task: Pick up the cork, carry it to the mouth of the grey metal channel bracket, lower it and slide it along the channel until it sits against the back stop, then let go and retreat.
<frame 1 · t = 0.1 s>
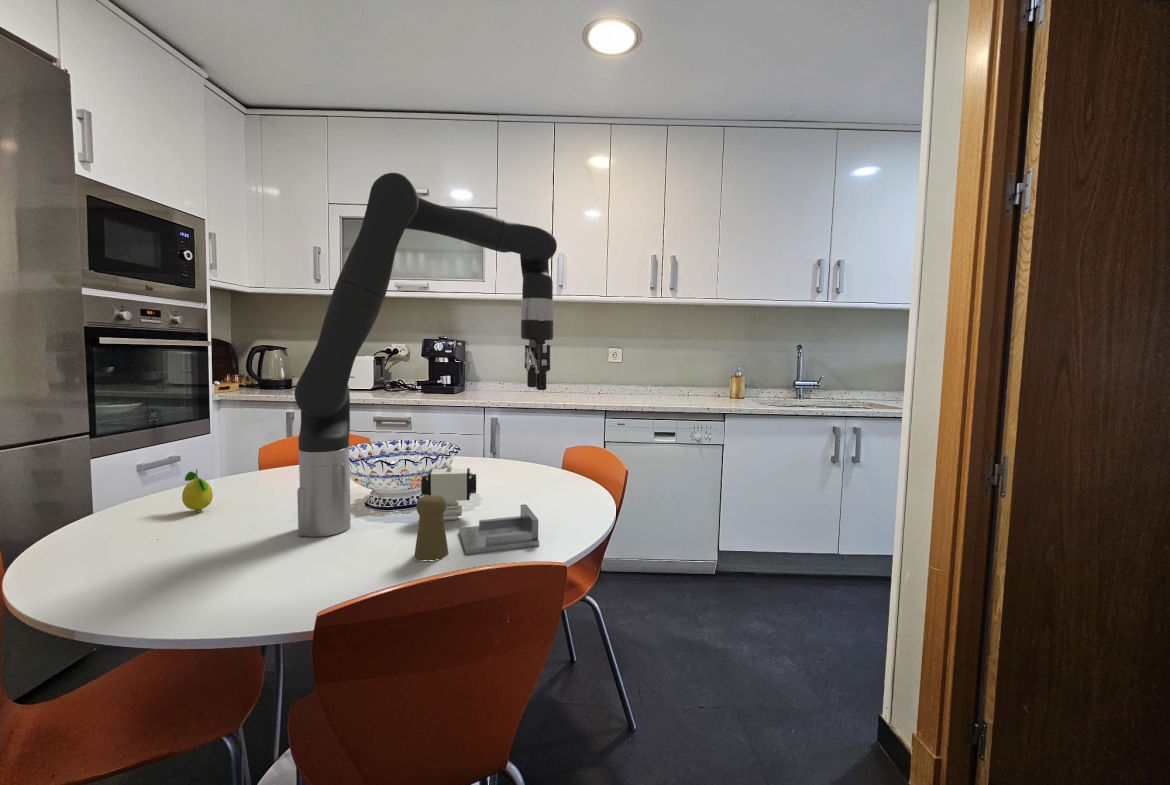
hand: (536, 388, 117), 29 cm above the table, tool pointing down, fingers open, 8 cm apart
pneumatic valve: (449, 518, 112), on the table
bracket: (497, 539, 100), on the table
lemon: (197, 512, 113), on the table
cork: (431, 555, 92), on the table
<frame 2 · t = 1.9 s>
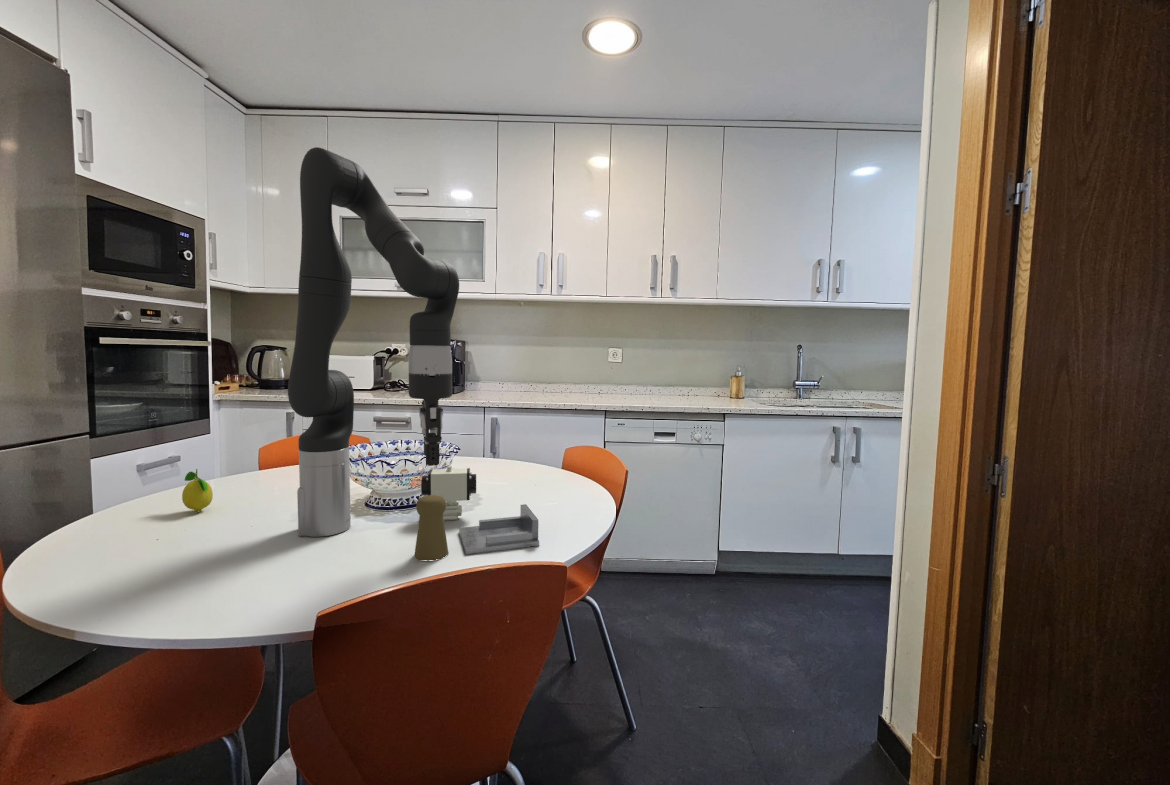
hand: (431, 460, 90), 18 cm above the table, tool pointing down, fingers open, 8 cm apart
nothing on the table moved.
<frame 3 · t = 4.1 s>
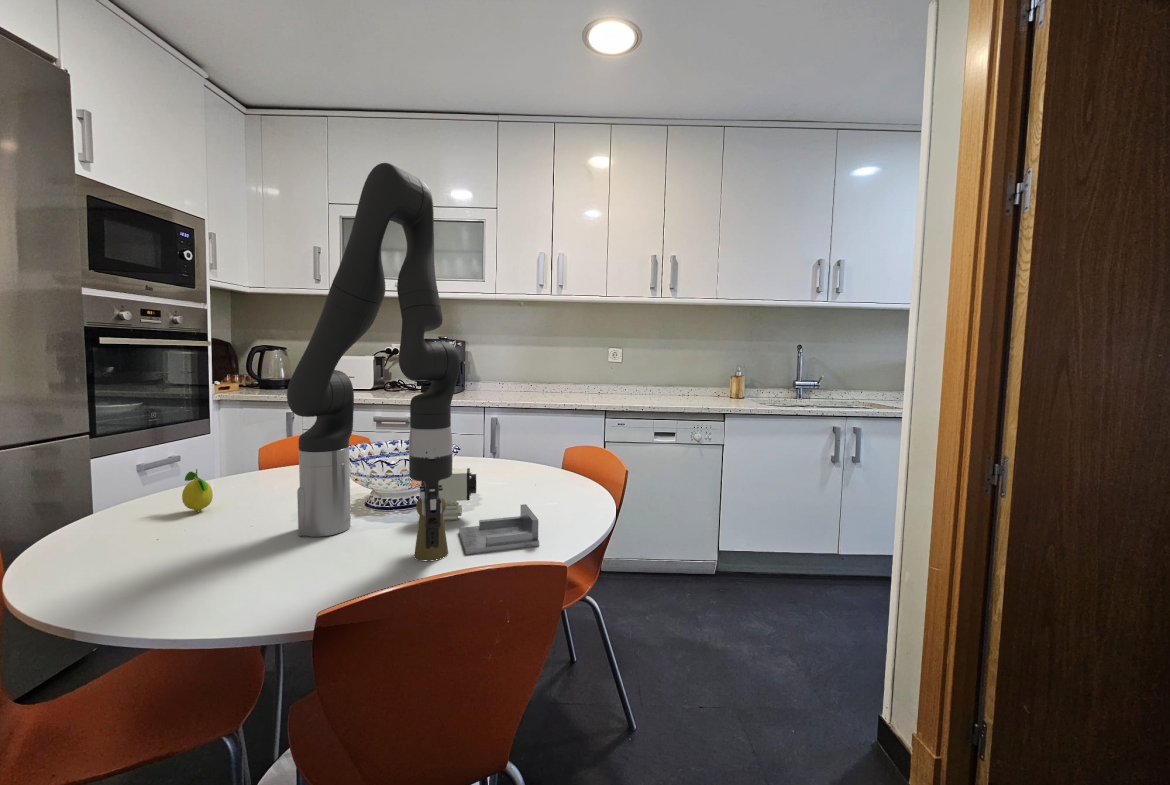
hand: (431, 542, 91), 2 cm above the table, tool pointing down, fingers closed on cork, 4 cm apart
cork: (431, 555, 92), on the table, touching gripper
everything else where it was.
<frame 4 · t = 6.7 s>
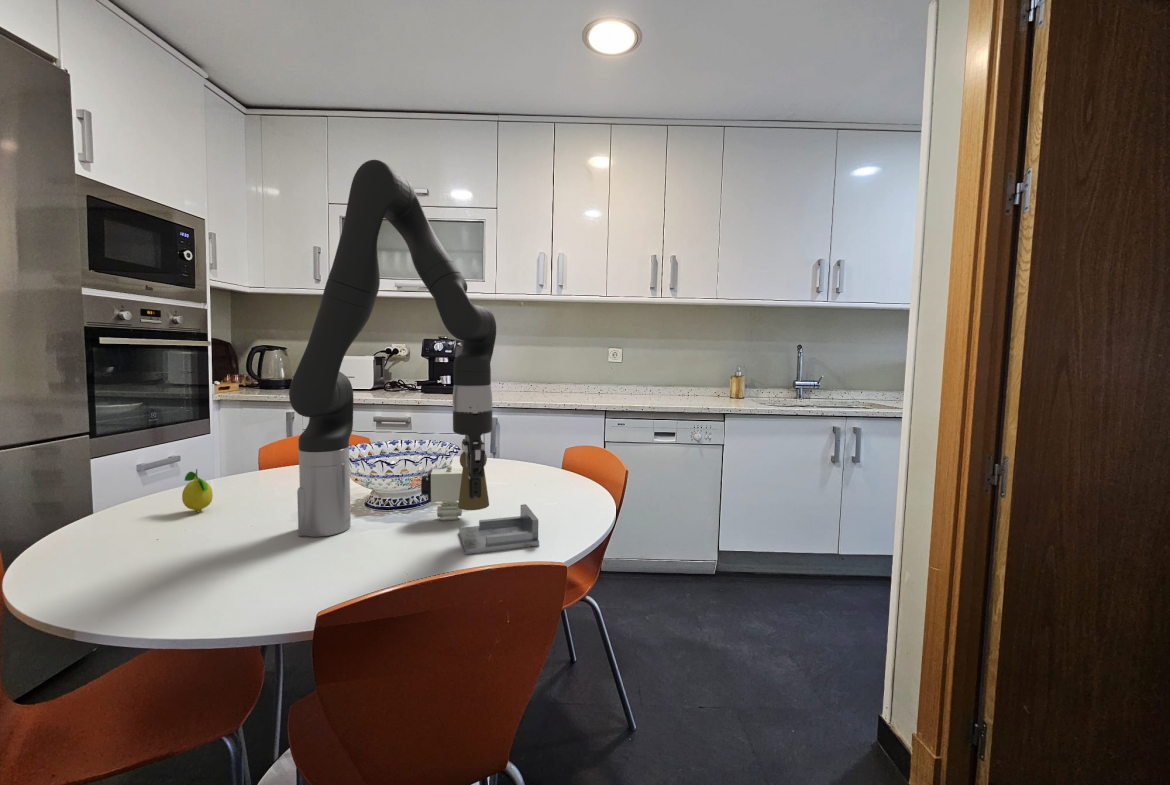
hand: (473, 494, 98), 10 cm above the table, tool pointing down, fingers closed on cork, 4 cm apart
cork: (473, 506, 98), point 7 cm above the table, touching gripper
everything else where it was.
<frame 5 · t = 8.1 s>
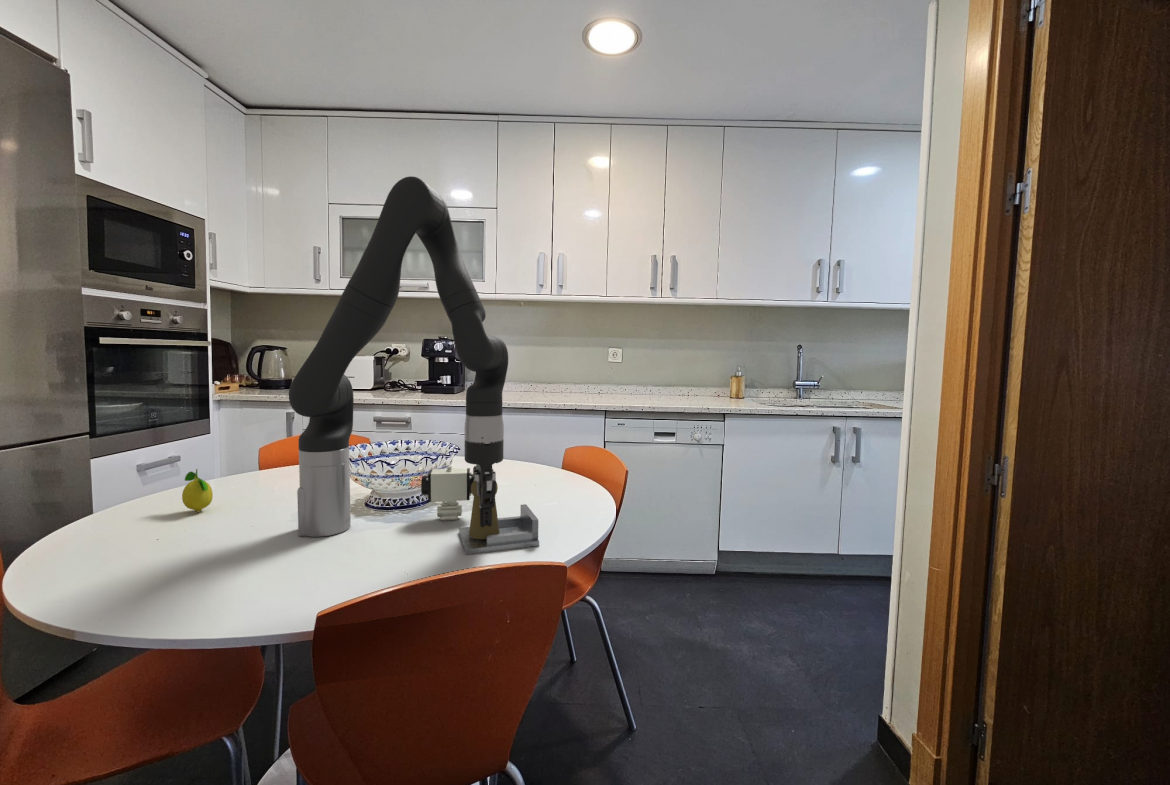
hand: (484, 522, 99), 4 cm above the table, tool pointing down, fingers closed on cork, 4 cm apart
cork: (484, 534, 99), point 1 cm above the table, touching gripper
everything else where it was.
when the fingers open (4 cm above the table, at t = 9.4 s): cork stays where it is, resting on bracket.
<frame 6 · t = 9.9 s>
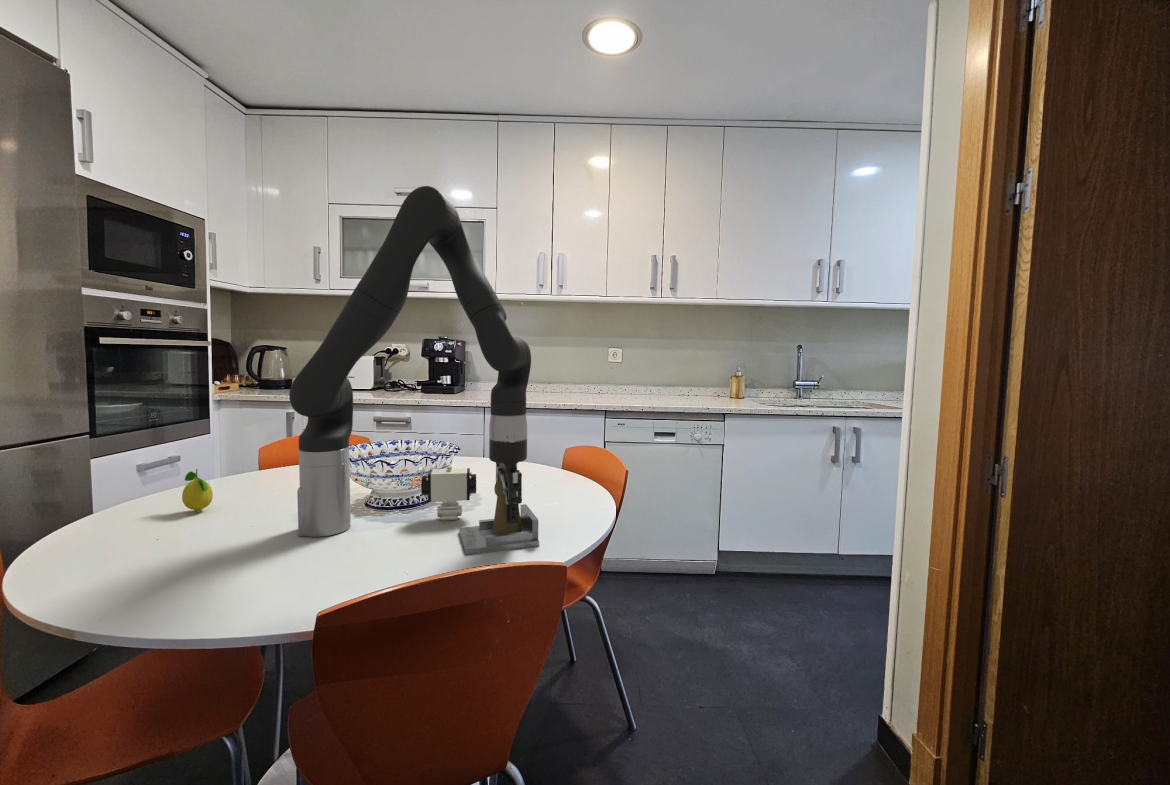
hand: (507, 516, 100), 5 cm above the table, tool pointing down, fingers open, 8 cm apart
cork: (507, 533, 101), point 1 cm above the table, touching bracket
everything else where it was.
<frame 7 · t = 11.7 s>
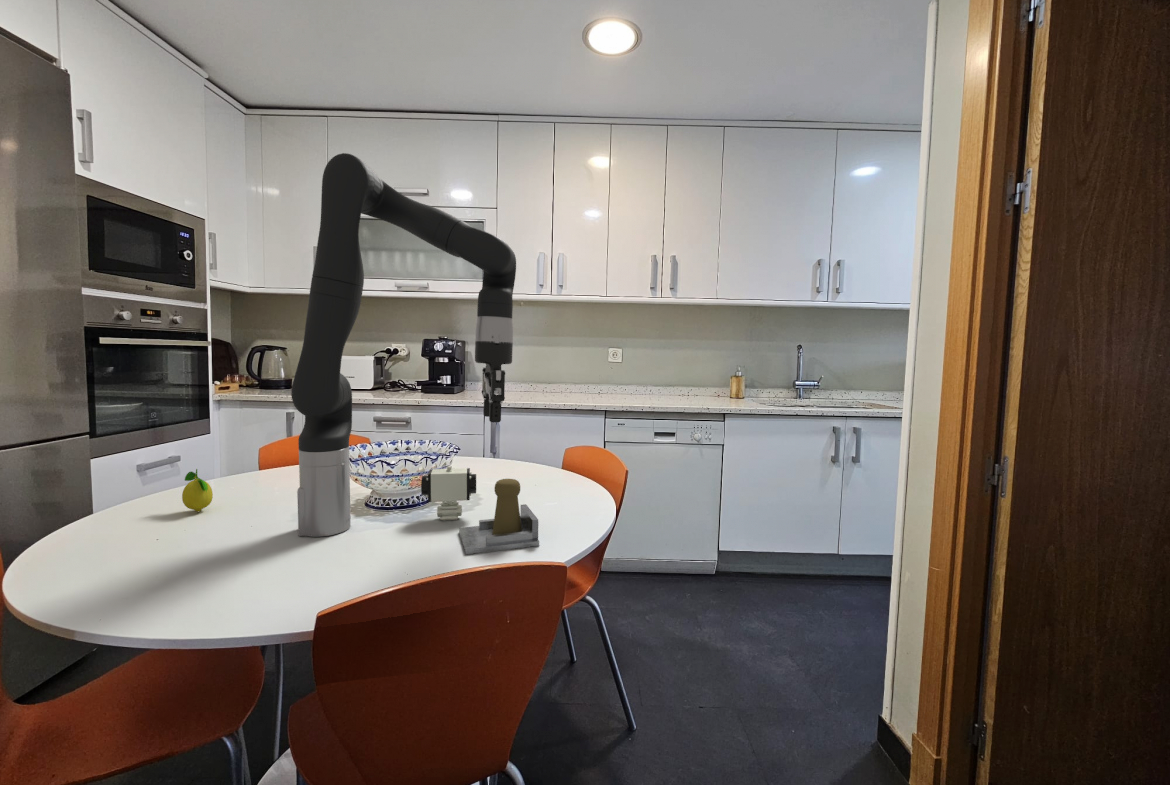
hand: (491, 419, 102), 24 cm above the table, tool pointing down, fingers open, 8 cm apart
nothing on the table moved.
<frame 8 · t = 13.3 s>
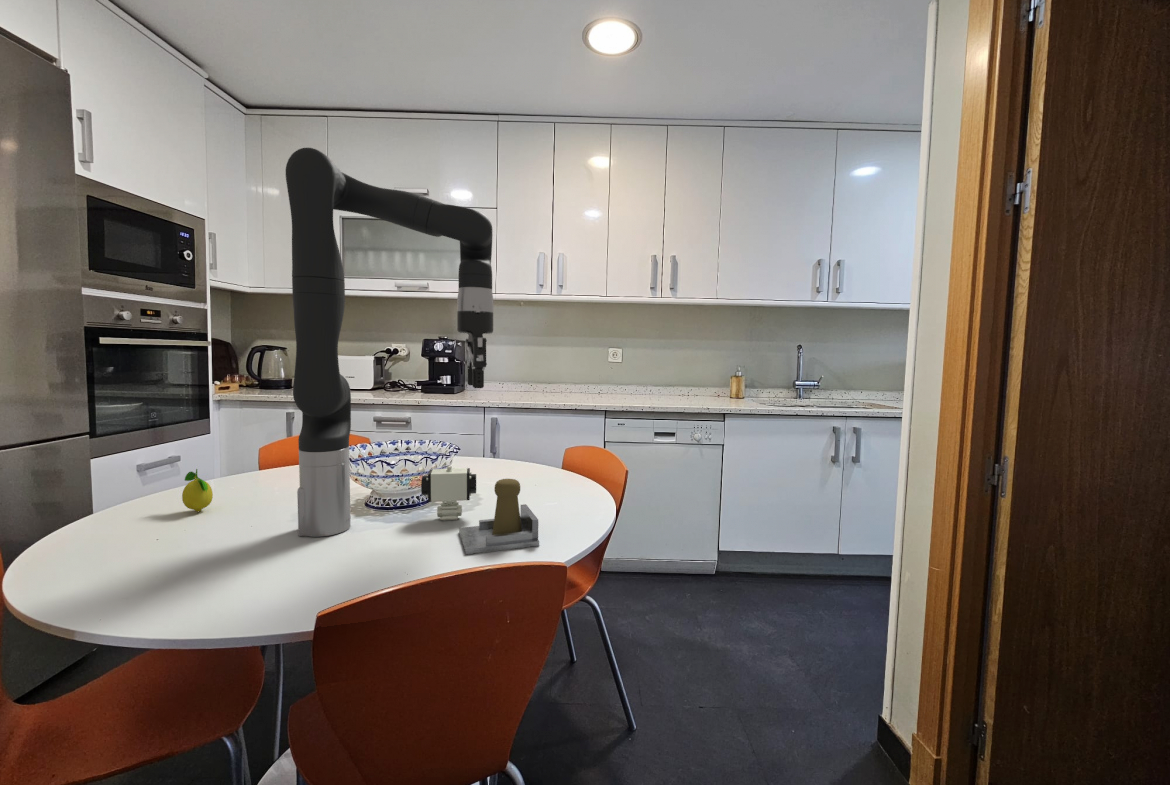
hand: (475, 386, 107), 30 cm above the table, tool pointing down, fingers open, 8 cm apart
nothing on the table moved.
at the end: cork inside the target area on the bracket (0.7 cm from its centre), point 0.8 cm above the bracket's base; cork tilted 0°; the gripper is holding nothing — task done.
